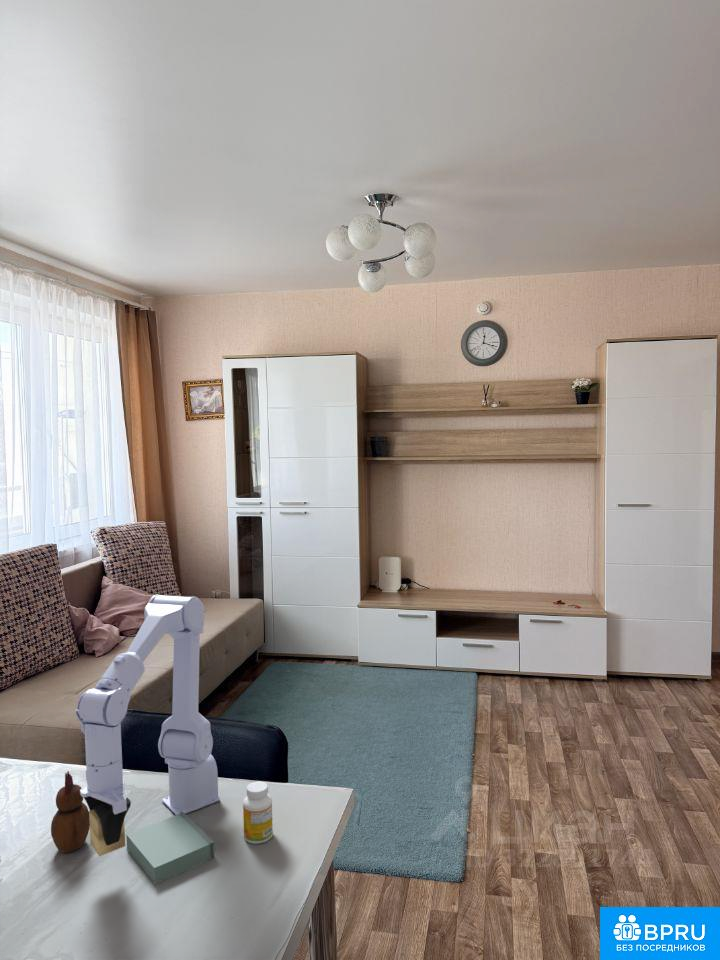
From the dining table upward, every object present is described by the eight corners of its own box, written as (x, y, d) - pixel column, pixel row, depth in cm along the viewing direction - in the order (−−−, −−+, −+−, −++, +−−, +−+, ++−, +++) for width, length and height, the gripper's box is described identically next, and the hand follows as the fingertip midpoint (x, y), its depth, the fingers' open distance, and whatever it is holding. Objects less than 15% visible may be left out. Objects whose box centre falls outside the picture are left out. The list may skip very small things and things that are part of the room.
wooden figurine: (74, 859, 122) (71, 778, 122) (46, 855, 124) (42, 775, 123) (96, 837, 129) (93, 760, 128) (69, 834, 130) (66, 758, 129)
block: (116, 834, 120) (114, 801, 119) (125, 846, 116) (123, 812, 116) (90, 844, 117) (89, 810, 116) (99, 856, 113) (97, 821, 113)
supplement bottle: (244, 829, 131) (243, 780, 130) (272, 827, 132) (271, 778, 131) (243, 846, 126) (241, 795, 125) (272, 843, 126) (271, 792, 126)
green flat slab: (183, 827, 132) (182, 812, 132) (214, 858, 122) (213, 842, 122) (127, 850, 125) (126, 834, 125) (155, 885, 115) (154, 867, 115)
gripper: (66, 751, 119) (70, 826, 120) (94, 783, 107) (97, 865, 108) (107, 739, 123) (110, 811, 124) (137, 768, 112) (141, 848, 113)
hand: (107, 836), depth 116 cm, fingers closed on block, 4 cm apart
